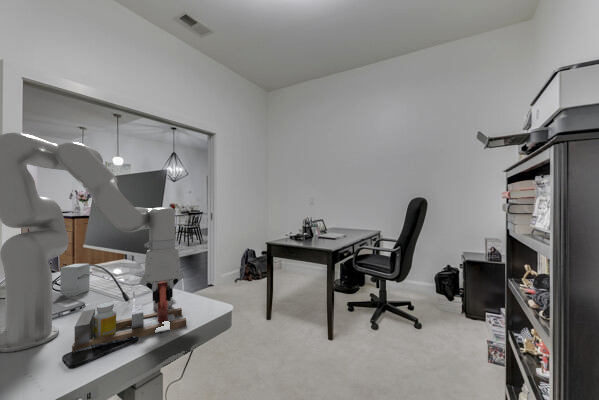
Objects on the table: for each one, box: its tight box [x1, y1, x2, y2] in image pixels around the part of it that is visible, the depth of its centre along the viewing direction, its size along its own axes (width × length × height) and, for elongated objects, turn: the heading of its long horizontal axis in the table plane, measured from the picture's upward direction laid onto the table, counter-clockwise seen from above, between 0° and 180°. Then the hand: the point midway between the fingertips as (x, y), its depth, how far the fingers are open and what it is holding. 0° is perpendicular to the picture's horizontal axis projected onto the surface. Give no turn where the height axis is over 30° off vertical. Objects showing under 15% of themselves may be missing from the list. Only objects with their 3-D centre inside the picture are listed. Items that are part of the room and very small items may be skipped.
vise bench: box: [71, 307, 187, 353], centre depth 81 cm, size 28×12×7 cm, turn 122°
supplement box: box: [59, 263, 91, 297], centre depth 117 cm, size 7×7×13 cm
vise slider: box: [131, 281, 176, 330], centre depth 84 cm, size 12×7×13 cm, turn 122°
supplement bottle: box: [93, 301, 117, 338], centre depth 77 cm, size 5×5×10 cm
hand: (162, 300), depth 85 cm, fingers closed on vise slider, 3 cm apart
